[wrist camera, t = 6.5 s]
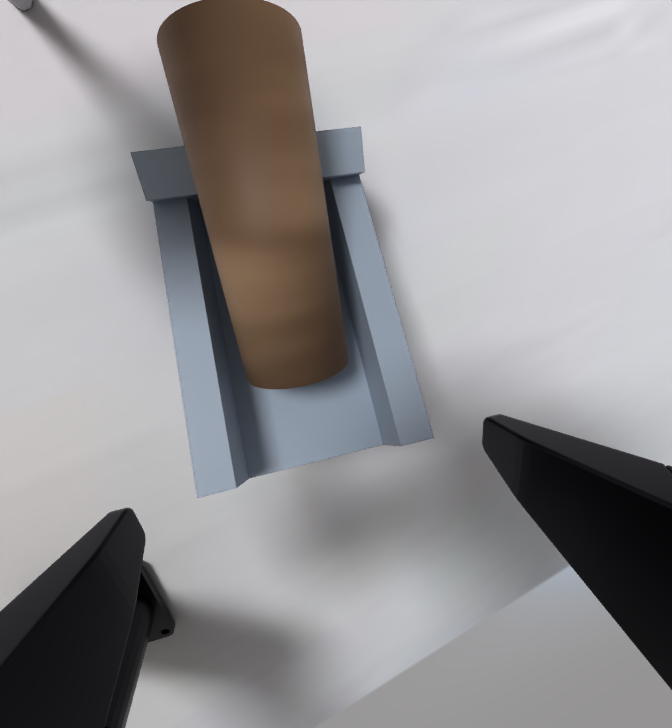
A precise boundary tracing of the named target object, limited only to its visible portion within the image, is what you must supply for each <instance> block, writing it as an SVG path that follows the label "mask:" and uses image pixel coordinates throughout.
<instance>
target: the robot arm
mask: <svg viewBox="0 0 672 728" xmlns="http://www.w3.org/2000/svg"><path fill="white" fill-rule="evenodd" d="M482 444H483V448H484V450H485V452H486V454H487V455H488V457H489V458H490V460H491V461H492V463H493V464H494V466H495V467H496V469H497V470H498V472H499V473H500V475H501V476H502V478H503V479H504V481H505V482H506V484H507V485H508V487H509V488H510V490H511V491H512V493H513V494H514V496H515V497H516V498H517V500H518V501H519V502H520V504H521V505H522V506H523V508H524V509H525V510H526V511H527V513H528V514H529V515H530V516H531V517H532V519H533V520H534V521H535V522H536V524H537V525H538V526H539V527H540V529H541V530H542V531H543V532H544V533H545V535H546V536H547V537H548V538H549V540H550V541H551V542H552V543H553V545H554V546H555V547H556V548H557V549H558V551H559V552H560V553H561V554H562V556H563V557H564V558H565V559H566V561H567V562H568V563H569V564H570V565H571V567H572V568H573V569H574V570H575V572H576V573H577V574H578V575H579V576H580V578H581V579H582V580H583V581H584V583H585V584H586V585H587V586H588V588H589V589H590V590H591V591H592V593H593V594H594V595H595V596H596V597H597V599H598V600H599V601H600V602H601V603H602V605H603V606H604V607H605V609H606V610H607V611H608V612H609V613H610V615H611V616H612V617H613V618H614V619H615V621H616V622H617V623H618V624H619V626H620V627H621V628H622V629H623V631H624V632H625V633H626V634H627V636H628V637H629V638H630V639H631V641H632V642H633V643H634V644H635V645H636V647H637V648H638V649H639V650H640V652H641V653H642V654H643V655H644V657H645V658H646V659H647V660H648V661H649V663H650V664H651V665H652V666H653V668H654V669H655V670H656V671H657V673H658V674H659V675H660V676H661V677H662V679H663V680H664V681H665V682H666V684H667V685H668V686H669V687H670V688H671V690H672V466H665V465H664V464H662V463H658V462H655V461H652V460H649V459H645V458H642V457H639V456H635V455H632V454H629V453H626V452H622V451H619V450H616V449H612V448H609V447H606V446H603V445H599V444H596V443H593V442H589V441H586V440H583V439H580V438H576V437H573V436H570V435H567V434H563V433H560V432H557V431H553V430H550V429H547V428H544V427H540V426H537V425H534V424H530V423H527V422H524V421H521V420H517V419H514V418H511V417H508V416H504V415H501V414H498V415H493V416H489V417H486V418H485V419H484V422H483V438H482ZM144 547H145V533H144V530H143V528H142V526H141V524H140V523H139V521H138V519H137V517H136V515H135V513H134V511H133V510H132V509H131V508H124V509H120V510H116V511H112V512H110V513H108V514H107V515H106V516H105V517H104V518H103V519H102V520H101V521H100V522H98V523H97V524H96V525H95V526H94V527H93V528H92V529H91V530H90V531H88V532H87V533H86V534H85V535H84V536H83V537H82V538H81V539H80V540H79V541H77V542H76V543H75V544H74V545H73V546H72V547H71V548H70V549H69V550H68V551H66V552H65V553H64V554H63V555H62V556H61V557H60V558H59V559H58V560H57V561H55V562H54V563H53V564H52V565H51V566H50V567H49V568H48V569H47V570H46V571H44V572H43V573H42V574H41V575H40V576H39V577H38V578H37V579H36V580H34V581H33V582H32V583H31V584H30V585H29V586H28V587H27V588H26V589H25V590H23V591H22V592H21V593H20V594H19V595H18V596H17V597H16V598H15V599H14V600H12V601H11V602H10V603H9V604H8V605H7V606H6V607H5V608H4V609H3V610H1V611H0V728H125V726H126V722H127V719H128V715H129V711H130V707H131V703H132V700H133V696H134V692H135V688H136V684H137V681H138V677H139V673H140V669H141V666H142V662H143V658H144V654H145V650H146V647H147V643H148V642H151V641H154V640H157V639H161V638H164V637H167V636H170V635H171V634H173V632H174V628H175V622H174V620H173V618H172V616H171V614H170V613H169V611H168V609H167V607H166V605H165V604H164V602H163V600H162V598H161V596H160V594H159V593H158V591H157V589H156V587H155V585H154V584H153V582H152V580H151V578H150V576H149V575H148V573H147V571H146V569H145V567H144V566H143V565H142V560H143V554H144Z"/></svg>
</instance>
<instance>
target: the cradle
mask: <svg viewBox="0 0 672 728" xmlns="http://www.w3.org/2000/svg"><path fill="white" fill-rule="evenodd" d="M316 137H317V144H318V151H319V158H320V164H321V171H322V178H323V185H324V192H325V199H326V206H327V213H328V220H329V227H330V234H331V240H332V247H333V254H334V261H335V268H336V275H337V282H338V289H339V296H340V303H341V310H342V316H343V323H344V330H345V337H346V344H347V351H348V358H349V362H348V364H347V366H346V367H345V368H344V369H343V370H342V371H340V372H339V373H337V374H336V375H334V376H332V377H330V378H328V379H325V380H323V381H320V382H317V383H314V384H310V385H306V386H302V387H297V388H290V389H262V388H258V387H255V386H253V385H251V384H250V383H249V382H248V381H247V378H246V374H245V370H244V367H243V363H242V359H241V355H240V352H239V348H238V344H237V340H236V337H235V333H234V329H233V325H232V322H231V318H230V314H229V310H228V307H227V303H226V299H225V295H224V292H223V288H222V284H221V280H220V277H219V273H218V269H217V265H216V262H215V258H214V254H213V250H212V247H211V243H210V239H209V235H208V232H207V228H206V224H205V220H204V217H203V213H202V209H201V206H200V202H199V198H198V194H197V191H196V187H195V183H194V179H193V176H192V172H191V168H190V164H189V161H188V157H187V153H186V149H185V146H183V147H174V148H165V149H156V150H147V151H139V152H131V155H132V158H133V162H134V165H135V168H136V171H137V174H138V177H139V180H140V183H141V186H142V189H143V192H144V195H145V198H146V201H151V202H153V205H154V211H155V218H156V225H157V231H158V238H159V245H160V252H161V258H162V265H163V272H164V278H165V285H166V292H167V299H168V305H169V312H170V319H171V325H172V332H173V339H174V346H175V352H176V359H177V366H178V373H179V379H180V386H181V393H182V399H183V406H184V413H185V420H186V426H187V433H188V440H189V446H190V453H191V460H192V467H193V473H194V480H195V487H196V493H197V498H200V497H204V496H208V495H211V494H215V493H219V492H223V491H227V490H231V489H235V488H237V487H238V486H240V485H241V484H242V483H244V482H245V481H246V480H248V479H249V478H252V477H256V476H260V475H264V474H268V473H272V472H276V471H280V470H284V469H288V468H292V467H296V466H300V465H304V464H308V463H312V462H316V461H320V460H324V459H328V458H332V457H336V456H340V455H344V454H348V453H352V452H356V451H359V450H363V449H367V448H371V447H375V446H379V445H394V446H404V445H407V444H411V443H415V442H419V441H423V440H427V439H431V438H434V436H433V432H432V429H431V425H430V422H429V418H428V415H427V411H426V408H425V404H424V401H423V397H422V394H421V390H420V387H419V383H418V380H417V376H416V373H415V369H414V366H413V362H412V359H411V355H410V352H409V348H408V345H407V341H406V338H405V334H404V331H403V327H402V324H401V320H400V317H399V313H398V310H397V306H396V303H395V299H394V296H393V292H392V289H391V285H390V282H389V278H388V275H387V271H386V268H385V264H384V261H383V257H382V254H381V250H380V247H379V243H378V240H377V236H376V233H375V229H374V226H373V222H372V219H371V215H370V212H369V208H368V205H367V201H366V198H365V194H364V191H363V187H362V184H361V180H360V177H359V174H361V173H363V172H365V168H364V156H363V145H362V133H361V127H352V128H343V129H335V130H326V131H317V132H316Z"/></svg>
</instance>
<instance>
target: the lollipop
mask: <svg viewBox="0 0 672 728" xmlns="http://www.w3.org/2000/svg"><path fill="white" fill-rule="evenodd" d="M8 1H9V2H10V3H11V4H13V5H14V6H16V7H18V8H19V9H21V10H23V11H24V10H27V9H29V8H31V6H32V1H33V0H8Z"/></svg>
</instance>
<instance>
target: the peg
mask: <svg viewBox="0 0 672 728" xmlns="http://www.w3.org/2000/svg"><path fill="white" fill-rule="evenodd" d="M157 44H158V48H159V52H160V56H161V59H162V63H163V67H164V71H165V74H166V78H167V82H168V86H169V89H170V93H171V97H172V101H173V104H174V108H175V112H176V116H177V119H178V123H179V127H180V131H181V134H182V138H183V142H184V146H185V149H186V153H187V157H188V161H189V164H190V168H191V172H192V176H193V179H194V183H195V187H196V191H197V194H198V198H199V202H200V206H201V209H202V213H203V217H204V220H205V224H206V228H207V232H208V235H209V239H210V243H211V247H212V250H213V254H214V258H215V262H216V265H217V269H218V273H219V277H220V280H221V284H222V288H223V292H224V295H225V299H226V303H227V307H228V310H229V314H230V318H231V322H232V325H233V329H234V333H235V337H236V340H237V344H238V348H239V352H240V355H241V359H242V363H243V367H244V370H245V374H246V378H247V381H248V382H249V383H250V384H251V385H253V386H255V387H258V388H262V389H290V388H297V387H302V386H306V385H310V384H314V383H317V382H320V381H323V380H325V379H328V378H330V377H332V376H334V375H336V374H337V373H339V372H340V371H342V370H343V369H344V368H345V367H346V366H347V364H348V362H349V358H348V351H347V344H346V337H345V330H344V323H343V316H342V310H341V303H340V296H339V289H338V282H337V275H336V268H335V261H334V254H333V247H332V240H331V234H330V227H329V220H328V213H327V206H326V199H325V192H324V185H323V178H322V171H321V164H320V158H319V151H318V144H317V137H316V130H315V123H314V116H313V109H312V102H311V95H310V88H309V82H308V75H307V68H306V61H305V54H304V47H303V40H302V33H301V28H300V26H299V23H298V22H297V20H296V19H295V18H294V17H293V16H292V15H291V14H290V13H289V12H287V11H286V10H285V9H283V8H281V7H279V6H277V5H275V4H273V3H270V2H267V1H264V0H201V1H198V2H194V3H191V4H189V5H187V6H184V7H182V8H180V9H179V10H177V11H175V12H174V13H172V14H171V15H170V16H169V17H168V18H167V19H166V20H165V21H164V22H163V23H162V25H161V26H160V28H159V31H158V34H157Z"/></svg>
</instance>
